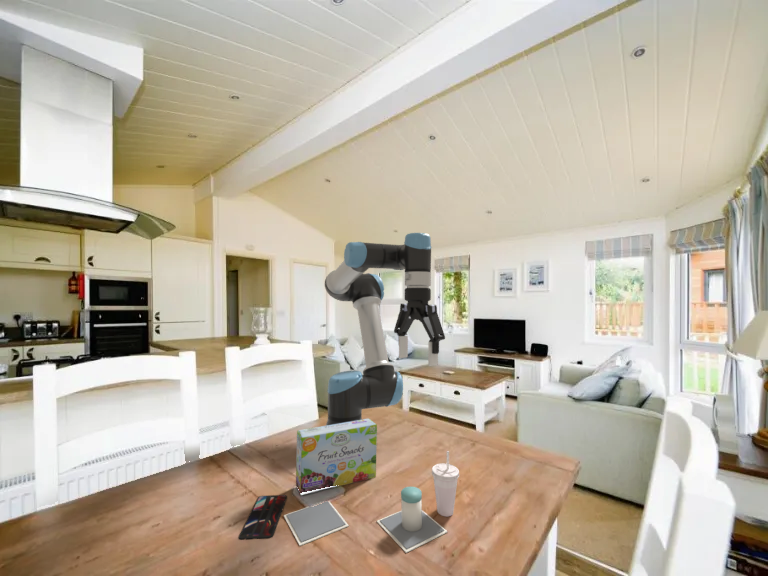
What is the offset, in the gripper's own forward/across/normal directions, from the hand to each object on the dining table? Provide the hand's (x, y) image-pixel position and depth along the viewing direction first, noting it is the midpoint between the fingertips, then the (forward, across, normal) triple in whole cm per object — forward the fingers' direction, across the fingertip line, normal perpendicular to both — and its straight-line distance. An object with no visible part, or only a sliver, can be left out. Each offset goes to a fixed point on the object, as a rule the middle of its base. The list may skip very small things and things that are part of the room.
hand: (417, 361), depth 98 cm
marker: (+31, +17, -15) cm, 39 cm away
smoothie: (+32, +17, -5) cm, 36 cm away
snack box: (+32, -8, -21) cm, 39 cm away
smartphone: (+32, -4, -41) cm, 52 cm away
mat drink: (+32, +17, -15) cm, 39 cm away
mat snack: (+32, +4, -32) cm, 45 cm away
